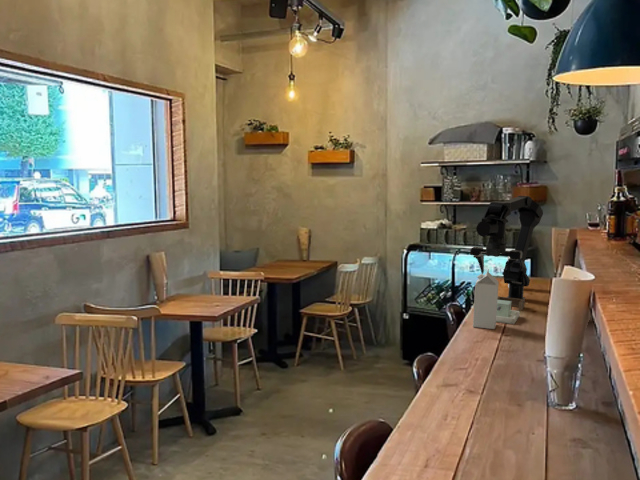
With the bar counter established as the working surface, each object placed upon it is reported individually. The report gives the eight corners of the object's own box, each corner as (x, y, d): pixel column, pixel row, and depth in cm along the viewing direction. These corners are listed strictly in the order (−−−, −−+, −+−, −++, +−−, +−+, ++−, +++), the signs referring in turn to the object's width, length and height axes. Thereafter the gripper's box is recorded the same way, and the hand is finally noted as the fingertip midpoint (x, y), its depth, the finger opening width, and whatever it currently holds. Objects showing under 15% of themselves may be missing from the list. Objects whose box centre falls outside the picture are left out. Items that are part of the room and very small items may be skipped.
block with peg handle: (493, 312, 222) (494, 299, 222) (510, 314, 220) (511, 301, 219) (489, 317, 215) (489, 303, 214) (506, 320, 212) (507, 306, 211)
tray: (486, 312, 225) (487, 307, 224) (519, 316, 220) (519, 311, 219) (479, 319, 214) (480, 314, 214) (513, 324, 209) (514, 318, 209)
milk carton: (495, 324, 208) (499, 269, 206) (494, 329, 202) (498, 273, 199) (474, 322, 211) (477, 268, 208) (472, 327, 204) (476, 271, 201)
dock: (496, 303, 239) (497, 296, 239) (524, 307, 234) (524, 299, 234) (493, 307, 233) (493, 299, 233) (521, 310, 228) (522, 303, 228)
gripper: (467, 235, 229) (465, 275, 231) (519, 239, 221) (516, 281, 223) (474, 232, 239) (472, 271, 241) (523, 235, 231) (521, 276, 233)
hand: (494, 275), depth 234 cm, fingers open, 9 cm apart
